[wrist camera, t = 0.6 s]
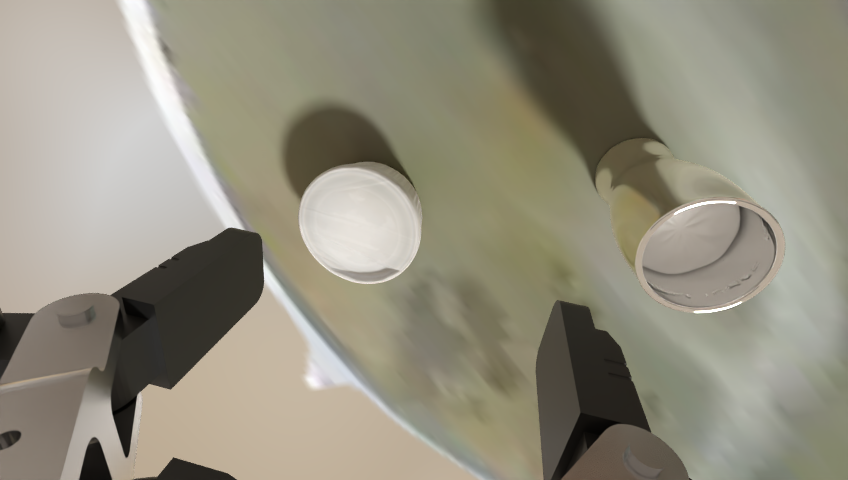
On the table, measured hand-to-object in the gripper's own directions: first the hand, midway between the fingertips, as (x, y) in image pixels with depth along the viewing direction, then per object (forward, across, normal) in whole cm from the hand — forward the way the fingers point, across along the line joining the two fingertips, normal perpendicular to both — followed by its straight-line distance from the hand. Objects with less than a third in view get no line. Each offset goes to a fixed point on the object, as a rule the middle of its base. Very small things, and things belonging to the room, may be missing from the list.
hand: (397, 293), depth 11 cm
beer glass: (+27, -14, +2) cm, 30 cm away
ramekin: (+27, +8, +10) cm, 30 cm away
